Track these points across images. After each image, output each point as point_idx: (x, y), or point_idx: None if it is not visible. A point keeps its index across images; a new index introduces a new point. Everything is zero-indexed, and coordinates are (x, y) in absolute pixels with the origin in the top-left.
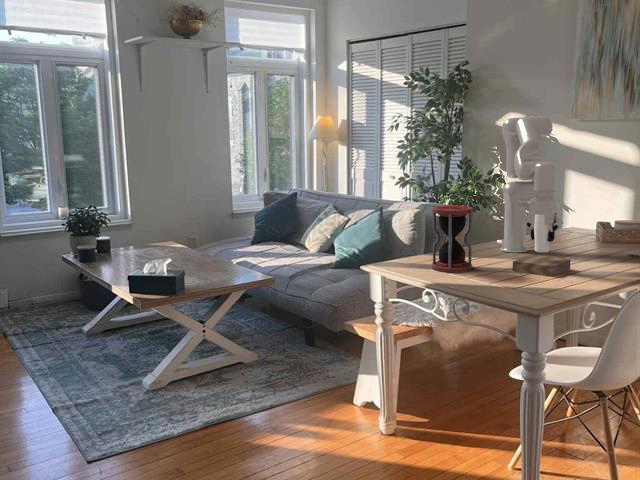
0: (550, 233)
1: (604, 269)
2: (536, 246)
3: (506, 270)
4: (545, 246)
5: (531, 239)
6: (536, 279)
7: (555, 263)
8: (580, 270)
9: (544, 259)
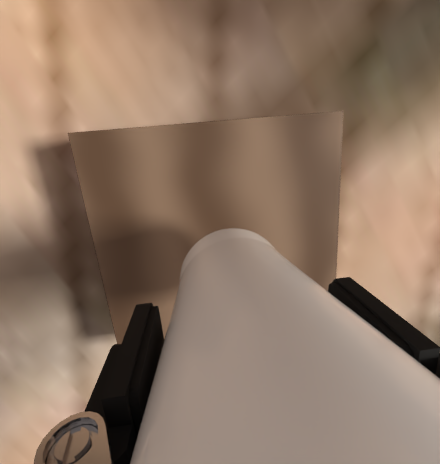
0: (113, 386)
1: (40, 421)
2: (257, 240)
3: (343, 106)
4: (185, 271)
5: (345, 278)
6: (105, 13)
7: (111, 229)
8: (92, 346)
9: None
